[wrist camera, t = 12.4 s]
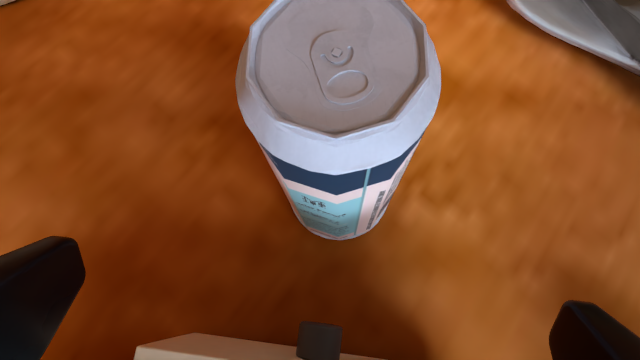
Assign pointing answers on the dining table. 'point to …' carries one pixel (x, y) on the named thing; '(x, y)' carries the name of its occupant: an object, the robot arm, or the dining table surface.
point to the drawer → (251, 347)
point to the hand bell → (5, 1)
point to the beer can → (338, 104)
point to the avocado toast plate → (590, 26)
